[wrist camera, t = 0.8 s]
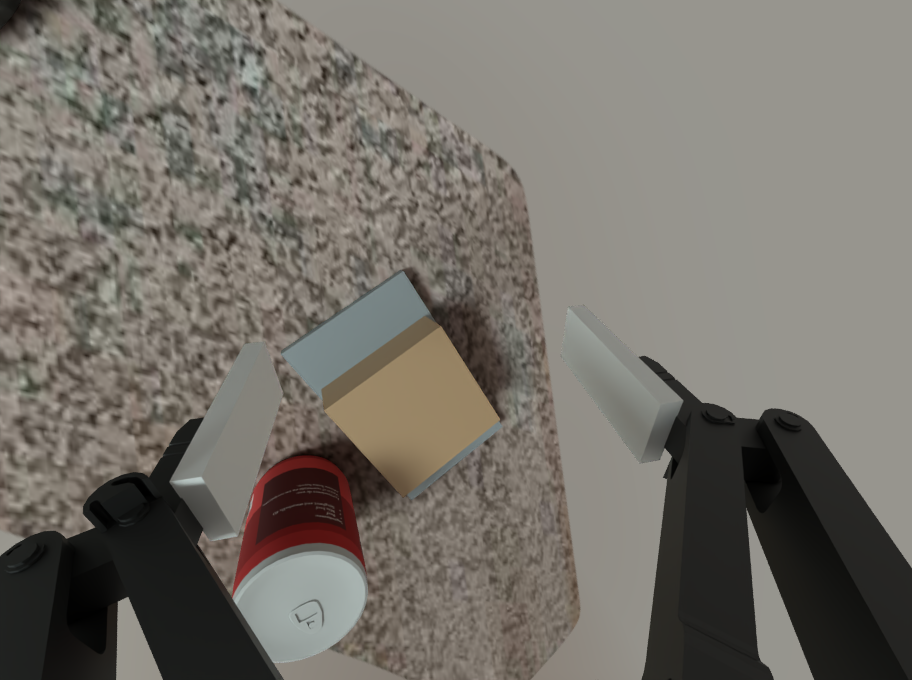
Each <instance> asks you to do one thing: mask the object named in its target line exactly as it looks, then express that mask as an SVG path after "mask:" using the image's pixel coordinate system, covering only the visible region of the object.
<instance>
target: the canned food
mask: <svg viewBox="0 0 912 680" xmlns="http://www.w3.org/2000/svg"><path fill="white" fill-rule="evenodd" d="M367 596H368V586H367V574H366V569H365V562H364V557H363V552H362V547H361V542H360V537H359V532H358V527H357V522H356V517H355V513H354V508H353V503H352V498H351V493H350V488H349V484H348V481H347V479H346V477H345V475H344V474H343V473H342V471H341V470H340V469H339V468H338V467H337V466H336V465H335V464H333V463H332V462H331V461H329V460H327V459H324V458H322V457H318V456H313V455H302V456H295V457H292V458H288V459H285V460H283V461H281V462H279V463H278V464H276V465H275V466H273V467H272V468H271V469H269V470H268V471H267V473H266V474H265V475H264V476H263V477H262V478H261V479H260V481H259V482H258V484H257V485H256V487H255V489H254V491H253V494H252V497H251V501H250V506H249V511H248V516H247V521H246V526H245V531H244V536H243V541H242V546H241V551H240V556H239V561H238V566H237V571H236V576H235V581H234V586H233V594H232V599H233V600H234V602H235V604H236V605H237V607H238V608H239V610H240V611H241V613H242V615H243V616H244V618H245V619H246V621H247V623H248V624H249V626H250V627H251V629H252V630H253V632H254V634H255V635H256V637H257V638H258V640H259V641H260V643H261V645H262V646H263V648H264V649H265V651H266V652H267V654H268V656H269V657H270V659H271V660H272V662H273V663H278V662H279V663H280V662H292V661H297V660H301V659H305V658H308V657H311V656H314V655H316V654H318V653H320V652H322V651H324V650H326V649H328V648H329V647H331V646H332V645H334V644H335V643H337V642H338V641H339V640H341V639H342V638H343V637H344V636H345V635H346V634H347V633H348V632H349V631H350V630H351V629H352V628H353V627H354V625H355V624H356V623H357V621H358V619H359V618H360V616H361V615H362V612H363V610H364V608H365V605H366V601H367Z"/></svg>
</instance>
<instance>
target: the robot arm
mask: <svg viewBox="0 0 912 680" xmlns="http://www.w3.org/2000/svg"><path fill="white" fill-rule="evenodd" d="M20 2H21V0H0V29H1V28H2V27H3V25H4V24H5V23H6V22H7V21H8V20H9V19H10V18H11V16H12V15H13V14H14V12H15V11H16V9H17V7H18V6H19V4H20ZM561 357H562V358H563V360H564V362H565V363H566V364H567V365H568V367H569V368H570V369H571V371H572V372H573V374H574V375H575V376H576V378H577V379H578V380H579V382H580V383H581V385H582V386H583V387H584V389H585V390H586V391H587V393H588V394H589V395H590V397H591V398H592V399H593V401H594V402H595V403H596V405H597V406H598V408H599V409H600V410H601V412H602V413H603V414H604V416H605V417H606V418H607V420H608V421H609V423H610V424H611V425H612V427H613V428H614V429H615V431H616V432H617V433H618V435H619V436H620V437H621V439H622V440H623V442H624V443H625V444H626V446H627V447H628V448H629V450H630V451H631V452H632V454H633V455H634V456H635V458H636V459H637V460H638V462H639V463H646V462H651V461H657V460H660V458H661V456H662V453H663V451H664V448H665V449H666V450H667V451H668V452H669V453H670V454H671V456H672V458H671V460H670V462H669V465H668V467H667V470H666V472H665V474H664V477H663V478H665V479H667V486H666V495H665V503H664V511H663V520H662V528H661V537H660V546H659V555H658V563H657V571H656V580H655V588H654V597H653V606H652V613H651V622H650V631H649V639H648V647H647V656H646V663H645V669H644V673H643V676H642V680H774V679H773V676H772V673H771V671H770V669H769V667H767V666H766V665H765V664H763V663H762V662H761V661H760V658H759V655H758V648H757V636H756V624H755V612H754V599H753V588H752V575H751V563H750V550H749V537H748V525H747V513H746V508H747V511H748V513H749V515H750V518H751V520H752V523H753V526H754V528H755V531H756V533H757V536H758V538H759V541H760V544H761V546H762V549H763V551H764V554H765V556H766V558H767V561H768V564H769V566H770V569H771V571H772V574H773V576H774V579H775V581H776V584H777V587H778V589H779V592H780V594H781V597H782V599H783V602H784V604H785V607H786V609H787V612H788V614H789V617H790V620H791V622H792V625H793V627H794V630H795V632H796V635H797V637H798V640H799V642H800V645H801V647H802V650H803V652H804V655H805V658H806V660H807V663H808V665H809V668H810V670H811V673H812V675H813V678H814V680H912V568H911V567H910V565H909V564H908V562H907V561H906V559H905V558H904V557H903V555H902V554H901V552H900V551H899V549H898V548H897V547H896V545H895V544H894V542H893V541H892V539H891V538H890V536H889V535H888V533H887V532H886V531H885V529H884V528H883V526H882V525H881V523H880V522H879V521H878V519H877V518H876V516H875V515H874V513H873V512H872V511H871V509H870V508H869V506H868V505H867V503H866V502H865V500H864V499H863V498H862V496H861V495H860V493H859V492H858V490H857V489H856V488H855V486H854V485H853V483H852V482H851V480H850V479H849V477H848V476H847V475H846V473H845V472H844V470H843V469H842V467H841V466H840V465H839V463H838V462H837V460H836V459H835V457H834V456H833V454H832V453H831V452H830V450H829V449H828V447H827V446H826V444H825V443H824V441H823V440H822V439H821V437H820V436H819V434H818V433H817V431H816V430H815V428H814V427H813V426H812V425H811V424H810V423H809V422H808V421H807V420H805V419H804V418H802V417H801V416H799V415H797V414H795V413H793V412H790V411H786V410H782V409H768V410H765V411H764V413H763V414H762V416H761V417H760V419H759V420H756V419H745V418H736V417H735V416H734V415H733V414H732V413H731V412H730V411H728V410H726V409H725V408H723V407H720V406H718V405H715V404H709V403H702V402H701V401H699V400H698V399H697V398H696V397H695V396H694V395H693V394H692V393H691V392H690V391H688V390H687V389H686V388H685V387H684V386H683V385H682V384H681V383H680V382H679V381H677V380H675V378H674V377H673V376H672V375H671V374H670V373H667V370H665V369H664V368H663V367H662V366H661V365H660V364H659V363H658V362H655V361H654V360H652V359H650V358H648V357H646V356H641V357H638V356H637V355H635V354H634V353H633V352H632V351H631V350H630V349H629V348H628V347H627V346H626V345H625V344H624V343H623V342H622V341H621V340H620V339H619V338H618V337H617V336H616V335H615V334H614V333H613V332H612V331H610V330H609V329H608V328H607V327H606V326H605V325H604V324H603V323H602V322H601V321H600V320H599V319H598V318H597V317H596V316H595V315H594V314H593V313H592V312H591V311H590V310H589V309H588V308H586V307H585V306H584V305H580V306H571V307H568V312H567V318H566V324H565V332H564V338H563V344H562V352H561ZM282 396H283V391H282V388H281V386H280V383H279V380H278V377H277V375H276V372H275V369H274V366H273V363H272V361H271V358H270V355H269V352H268V350H267V347H266V344H265V341H264V342H256V343H247V344H244V346H243V348H242V349H241V351H240V353H239V355H238V357H237V359H236V360H235V362H234V364H233V366H232V368H231V370H230V371H229V373H228V375H227V377H226V379H225V381H224V382H223V384H222V386H221V388H220V390H219V392H218V393H217V395H216V397H215V399H214V401H213V403H212V404H211V406H210V408H209V410H208V412H207V414H206V415H205V417H204V418H198V419H191V420H189V421H188V422H187V423H186V424H185V425H184V426H183V427H181V428H180V429H179V430H178V431H177V432H176V434H175V436H174V437H173V439H172V441H171V442H170V444H169V447H167V449H166V450H165V452H164V454H163V457H162V458H161V459H160V460H159V462H158V464H157V465H156V467H155V469H154V470H153V472H152V474H151V475H150V477H148V476H146V475H145V474H143V473H136V472H133V473H129V474H124V475H121V476H119V477H116V478H114V479H112V480H110V481H108V482H107V483H105V484H104V485H102V486H101V487H99V488H98V489H97V490H96V491H95V492H94V493H93V494H92V495H91V496H89V498H88V499H87V501H86V503H85V504H84V506H83V514H84V516H85V517H86V518H87V519H88V520H89V521H90V522H91V523H92V524H93V525H94V526H95V527H96V528H93V529H91V530H88V531H86V532H83V533H80V534H78V535H75V536H73V537H70V538H68V539H66V538H65V537H64V536H63V535H62V534H60V533H58V532H56V531H44V532H41V533H38V534H35V535H32V536H30V537H28V538H26V539H24V540H22V541H20V542H19V543H17V544H15V545H14V546H13V547H11V548H10V549H9V550H7V551H6V552H5V553H3V554H2V555H1V556H0V680H116V658H117V612H118V601H120V600H122V599H124V598H126V597H129V599H130V602H131V604H132V607H133V609H134V611H135V614H136V616H137V619H138V621H139V623H140V625H141V628H142V630H143V633H144V635H145V638H146V640H147V642H148V645H149V647H150V650H151V652H152V654H153V657H154V659H155V661H156V664H157V666H158V669H159V671H160V673H161V676H162V678H163V680H284V679H283V678H282V676H281V674H280V673H279V671H278V670H277V668H276V667H275V665H274V663H273V662H272V660H271V659H270V657H269V656H268V654H267V652H266V651H265V649H264V648H263V646H262V645H261V643H260V641H259V640H258V638H257V637H256V635H255V634H254V632H253V630H252V629H251V627H250V626H249V624H248V623H247V621H246V619H245V618H244V616H243V615H242V613H241V611H240V610H239V608H238V607H237V605H236V604H235V602H234V600H233V599H232V597H231V596H230V594H229V593H228V591H227V589H226V588H225V586H224V585H223V583H222V582H221V580H220V578H219V577H218V575H217V574H216V572H215V571H214V569H213V567H212V566H211V564H210V563H209V561H208V560H207V558H206V556H205V555H204V553H203V552H202V550H201V549H200V547H199V546H198V545H197V543H198V541H199V538H200V536H201V533H202V531H204V533H205V534H206V536H207V537H208V539H209V540H210V541H215V540H220V539H226V538H231V537H237V536H238V534H239V531H240V528H241V525H242V522H243V518H244V515H245V512H246V509H247V506H248V503H249V500H250V496H251V493H252V490H253V487H254V484H255V481H256V478H257V474H258V471H259V468H260V465H261V462H262V459H263V456H264V452H265V449H266V446H267V443H268V440H269V437H270V434H271V430H272V427H273V424H274V421H275V418H276V415H277V411H278V408H279V405H280V402H281V399H282Z"/></svg>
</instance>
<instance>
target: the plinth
mask: <svg viewBox="0 0 912 680" xmlns="http://www.w3.org/2000/svg"><path fill="white" fill-rule="evenodd" d="M281 355H282V356H283V357H284V358H285V359H286V361H287V362H288V363H289V364H290V365H291V366H292V367H293V368H294V369H295V371H296V372H297V373H298V374H299V375H300V376H301V377H302V378H303V380H304V381H305V382H306V383H307V384H308V385H309V386H310V387H311V388H312V390H313V391H314V392H315V393H316V394H317V395H318V396H319V397H320V399H321V400H322V401H323V406H324V411H325V412H326V413H327V414H328V416H329V417H330V418H331V419H332V420H333V421H334V422H335V423H336V424H337V425H338V427H339V428H340V429H341V430H342V431H343V432H344V433H345V434H346V435H347V436H348V438H349V439H350V440H351V441H352V442H353V443H354V444H355V445H356V446H357V448H358V449H359V450H360V451H361V452H362V453H363V454H364V455H365V456H366V457H367V459H368V460H369V461H370V462H371V463H372V464H373V465H374V466H375V467H376V468H377V470H378V471H379V472H380V473H381V474H382V475H383V476H384V477H385V478H386V479H387V481H388V482H389V483H390V484H391V485H392V486H393V487H394V488H395V489H396V491H397V492H398V493H399V494H400V495H401V496H402V497H403V498H404V497H405V496H406V495H407V496H408V497H409V498H410V499H411V500H412V499H414V498H415V497H416V496H417V495H419V494H420V493H421V492H422V491H424V490H425V489H426V488H427V487H428V486H430V485H431V484H432V483H433V482H435V481H436V480H437V479H438V478H440V477H441V476H442V475H443V474H445V473H446V472H447V471H448V470H449V469H451V468H452V467H453V466H454V465H456V464H457V463H458V462H459V461H461V460H462V459H463V458H464V457H466V456H467V455H468V454H469V453H470V452H472V451H473V450H474V449H475V448H477V447H478V446H479V445H480V444H482V443H483V442H484V441H485V440H487V439H488V438H489V437H490V436H491V435H493V434H494V433H495V432H496V431H498V430H499V429H500V428H501V427H502V425H501V423H500V422H499V420H500V418H499V417H498V415H497V414H496V412H495V410H494V409H493V407H492V406H491V404H490V402H489V401H488V399H487V398H486V396H485V395H484V393H483V391H482V390H481V388H480V387H479V385H478V384H477V382H476V380H475V379H474V377H473V376H472V374H471V373H470V371H469V369H468V368H467V366H466V365H465V363H464V361H463V360H462V358H461V357H460V355H459V354H458V352H457V350H456V349H455V347H454V346H453V344H452V343H451V341H450V339H449V338H448V336H447V335H446V333H445V332H444V330H443V328H442V327H441V326H440V325H439V324H437V323H436V321H435V320H434V318H433V317H432V315H431V314H430V312H429V311H428V309H427V307H426V306H425V304H424V303H423V301H422V300H421V298H420V296H419V295H418V293H417V292H416V290H415V289H414V287H413V285H412V284H411V282H410V281H409V279H408V278H407V276H406V274H405V273H404V271H401V270H400V271H398V272H397V273H395V274H394V275H392V276H391V277H390V278H388V279H387V280H385V281H384V282H382V283H381V284H379V285H378V286H376V287H375V288H373V289H372V290H370V291H369V292H367V293H366V294H364V295H363V296H361V297H360V298H359V299H357V300H356V301H354V302H353V303H351V304H350V305H348V306H347V307H345V308H344V309H342V310H341V311H339V312H338V313H336V314H335V315H333V316H332V317H331V318H329V319H328V320H326V321H325V322H323V323H322V324H320V325H319V326H317V327H316V328H314V329H313V330H311V331H310V332H308V333H307V334H305V335H304V336H302V337H301V338H300V339H298V340H297V341H295V342H294V343H292V344H291V345H289V346H288V347H286V348H285V349H283V350H282V351H281Z"/></svg>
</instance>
